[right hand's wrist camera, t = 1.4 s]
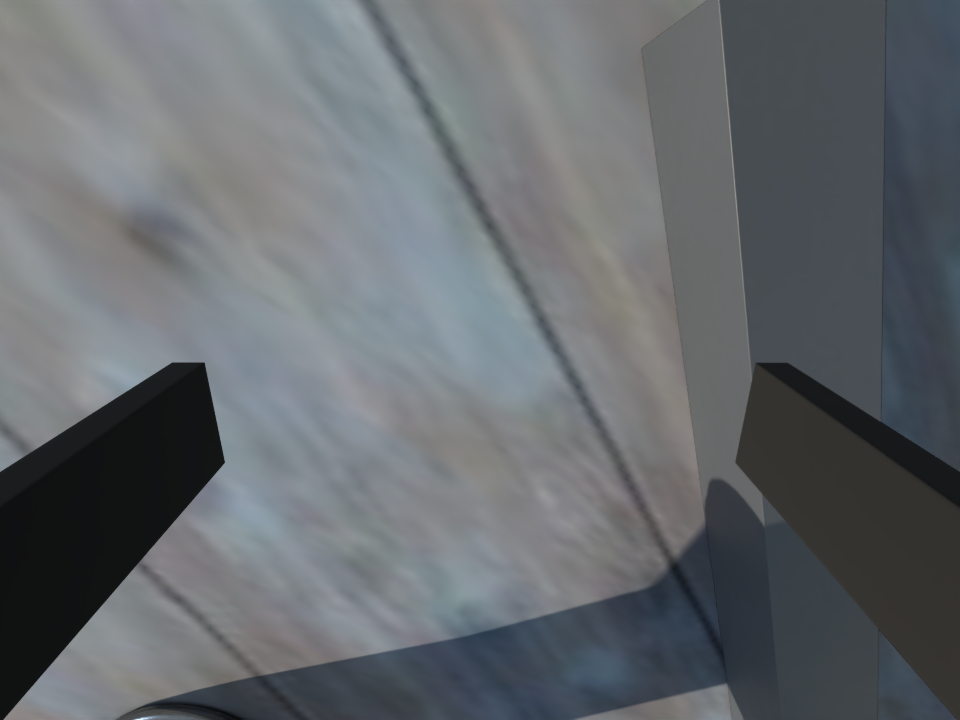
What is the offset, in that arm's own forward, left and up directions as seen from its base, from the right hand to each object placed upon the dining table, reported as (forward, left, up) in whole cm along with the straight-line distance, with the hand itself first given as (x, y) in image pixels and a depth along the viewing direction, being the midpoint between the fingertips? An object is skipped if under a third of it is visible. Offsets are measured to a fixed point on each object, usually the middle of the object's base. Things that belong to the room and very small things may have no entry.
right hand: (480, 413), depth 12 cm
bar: (+10, +31, -17) cm, 37 cm away
